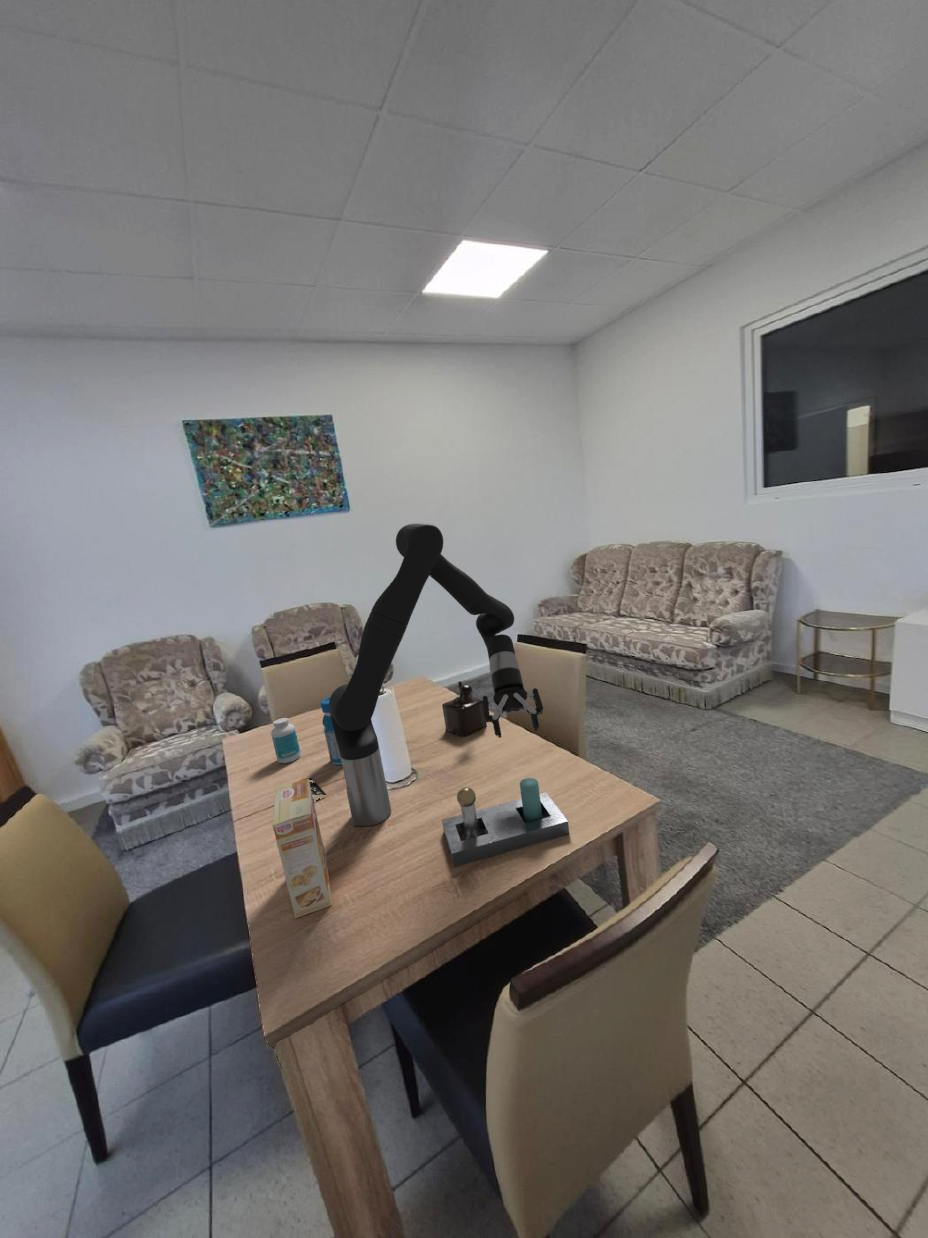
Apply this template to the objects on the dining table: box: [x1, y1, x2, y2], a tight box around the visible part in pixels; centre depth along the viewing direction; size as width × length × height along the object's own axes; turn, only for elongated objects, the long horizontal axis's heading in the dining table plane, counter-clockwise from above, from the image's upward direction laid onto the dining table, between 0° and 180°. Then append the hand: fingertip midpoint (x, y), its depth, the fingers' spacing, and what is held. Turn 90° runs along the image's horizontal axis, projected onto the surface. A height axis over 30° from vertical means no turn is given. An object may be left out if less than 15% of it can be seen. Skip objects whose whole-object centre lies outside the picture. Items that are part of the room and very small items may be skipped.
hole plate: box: [441, 786, 570, 868], centre depth 102 cm, size 25×12×12 cm, turn 103°
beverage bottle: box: [320, 696, 342, 766], centre depth 149 cm, size 8×8×20 cm
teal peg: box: [519, 777, 543, 823], centre depth 104 cm, size 4×4×10 cm
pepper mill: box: [442, 681, 488, 737], centre depth 157 cm, size 16×11×18 cm
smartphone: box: [307, 777, 327, 802], centre depth 134 cm, size 7×1×15 cm
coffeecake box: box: [271, 778, 333, 920], centre depth 94 cm, size 15×7×20 cm, turn 20°
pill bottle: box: [270, 717, 302, 764], centre depth 156 cm, size 8×7×14 cm
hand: (517, 734), depth 112 cm, fingers open, 8 cm apart
